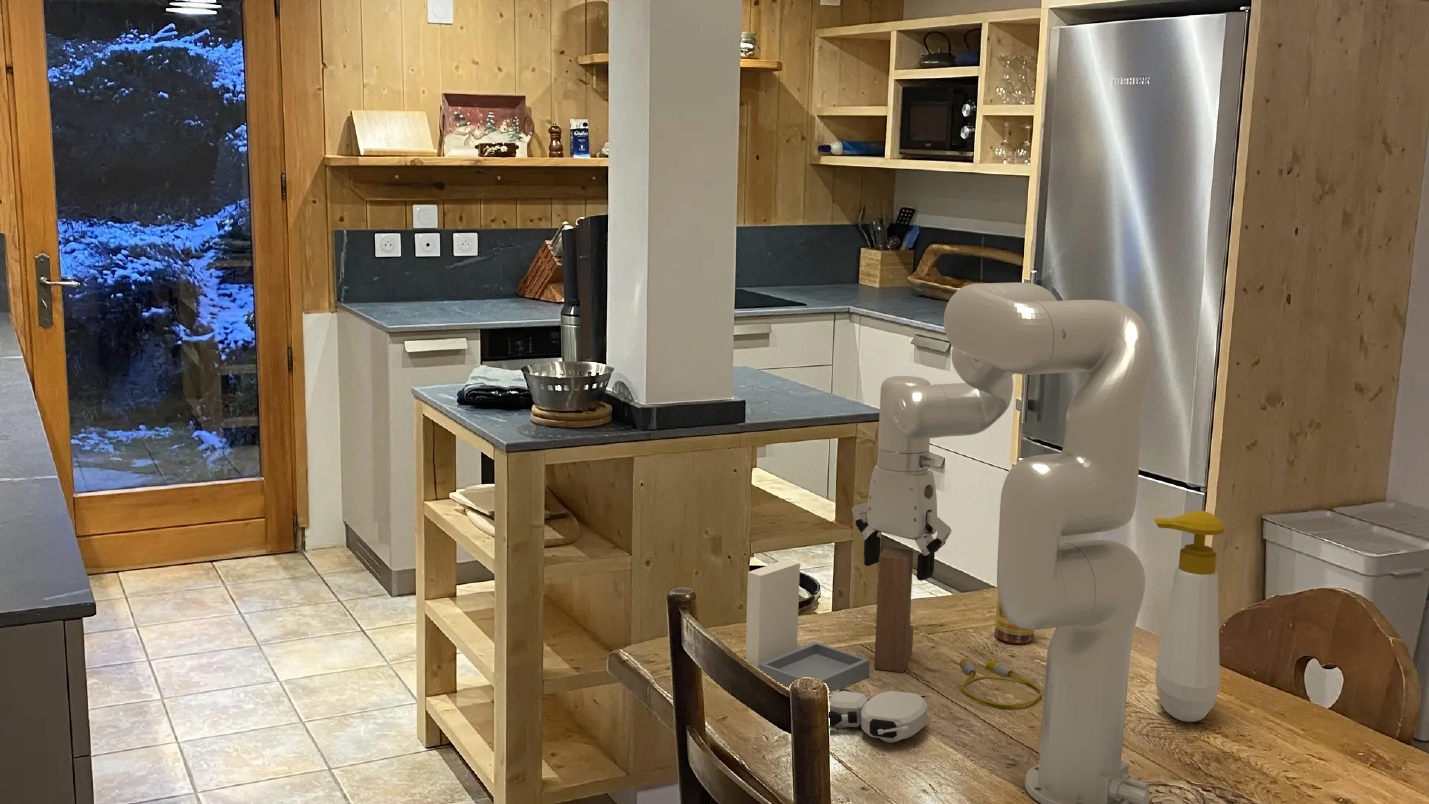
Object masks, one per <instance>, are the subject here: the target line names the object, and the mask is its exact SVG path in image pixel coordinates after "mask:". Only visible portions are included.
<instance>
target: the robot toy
mask: <svg viewBox="0 0 1429 804" xmlns="http://www.w3.org/2000/svg"><path fill="white" fill-rule="evenodd" d="M828 695H829V702H830V712H829V718H830V726H829V727H835V728H840V729H846V728H858V727H859V726H860V727H861V729H862V731H863V733H865V734H866V735H868V736H869V737H870V738H871V737H872V738H877V739H880V740H881V741H883V742H885V743H889V744H893V743H896V742H899V741H900V740H904V739H908V738H911V737H912V736H914V735H916V734H917V733H918V732H919V731H920V730H921V729H923V728H924V727H925V726H926V724H927V721H928V703H927V701H926V699H925V698H932V697H933V696H934V694H932V693H928V694H924V695H923V694H922V695H919V694H918V693H916V692H915V693H914V692H904V691H896V690H889V691H885V692H880V693H877V694H876V695H875V696H873V697H872V698H867V696H865V694H863V693H859V692H855V691H854V690H850V689H847V688H841V689H839V690H835V691H833V692H831V693H830V694H828Z"/></svg>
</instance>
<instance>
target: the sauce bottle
mask: <svg viewBox="0 0 1429 804" xmlns="http://www.w3.org/2000/svg"><path fill="white" fill-rule="evenodd" d="M994 626H995V629H994V636H995V637H996V638H997V639H998V640H1000V641H1002V642H1005V643H1009V644H1012V645H1013V644H1021V645H1022V644H1023V645H1025V644H1028V643H1030V642H1031V641H1032V640H1033V639H1034V635H1035V634H1034V633H1035V630H1027V629H1022V628H1019V627H1017V626H1015V625H1014V624H1012V623H1011V622H1010V621H1009V620H1008V619H1007V617H1006V616H1005V614H1004V612H1003V610H1002V608H1001V605H1000V602H999V597H998V596H997V602H996V612H995V621H994Z"/></svg>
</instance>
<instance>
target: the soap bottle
mask: <svg viewBox="0 0 1429 804" xmlns="http://www.w3.org/2000/svg"><path fill="white" fill-rule="evenodd" d="M1153 520H1154V522H1155V524H1156V525H1157V527H1158V529H1159V528H1160V529H1172V530H1176V531H1182V532H1184V533H1189V534H1193V535H1194V537H1193V543H1188V544H1185V545H1184V547H1183V548H1180V551H1179V562H1178V566H1176V568H1175V572H1174V577H1173V581H1172V587H1171V589H1170V590H1171V591H1170V595H1169V600H1168V605H1167V608H1166V609H1167V610H1166V614H1165V615H1166V616H1165V620H1164V625H1163V630H1162V635H1161V638H1160V644H1159V648H1158V654H1157V659H1156V666H1155V686H1156V690H1157V696H1158V698H1159V701H1160V703H1161V705H1162V707H1163V709H1164V711H1165V712H1167V713H1168V715H1170V716H1171V717H1173V718H1175V719H1176V720H1177V721H1178V720H1179V721H1181V722H1186V723H1194V722H1199V721H1201V720H1203V719H1204V718H1205V717H1206V716H1207V715H1208V714H1209V712H1211V710H1212V709H1213V707H1214V705H1215V703H1216V701H1217V697H1218V695H1219V691H1220V690H1219V689H1220V681H1221V678H1220V677H1221V675H1220V674H1221V673H1220V671H1221V670H1220V633H1219V632H1220V629H1219V627H1220V625H1219V623H1220V622H1219V573H1218V571H1217V570H1216V565H1217V553H1216V552H1215V551H1214V548H1212V546H1209V545H1206V536H1218V535H1222V534H1224V532H1225V527H1226V526H1225V524H1224V523H1223V521H1222V520H1221V519H1220V518H1219V517H1217V516H1216V515H1215V514H1213V513H1210V512H1209V511H1206V510H1195V511H1190V512H1187V513H1184V514H1181V515H1179V516H1178V515H1177V516H1175V517H1171V518H1165V517H1162V518H1161V517H1160V518H1159V517H1153Z"/></svg>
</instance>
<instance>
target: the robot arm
mask: <svg viewBox="0 0 1429 804" xmlns="http://www.w3.org/2000/svg"><path fill="white" fill-rule="evenodd" d="M1147 327H1148V326H1147V325H1146V323H1145V322H1144V319H1143V318H1142V317H1141V316H1140V315H1139V314H1138V313H1137V312H1136V311H1135V310H1134V309H1133V308H1131V307H1129V306H1127V305H1124V304H1123V303H1118V302H1116V301H1109V300H1102V299H1073V300H1072V299H1069V300H1057V297H1056V296H1055V295H1054V294H1053V293H1052V292H1051V291H1050V290H1048V289H1047V288H1045V287H1043V286H1042V285H1038V284H1036V283H1029V282H991V283H990V282H989V283H988V282H985V283H984V282H983V283H982V282H981V283H972V284H967V285H965V286H964V285H963V287H961V288H960V289H958V290H957V291H956V292H955V293H953V295H952V296H951V297H950V299H949V301H947V304H946V307H945V309H944V315H943V328H944V333H945V335H946V339H947V340H948V341H949V343H950V344H951V345H952V350H951V362H952V366H953V368H954V370H955V373H956V374H957V375H958V376H959V377H960V379H962V381H963V383H959V382H958V383H957V382H956V383H955V382H953V383H939V384H938V383H937V384H936V383H935V384H931V383H930V381H929V380H927V379H925V378H922V377H918V376H911V375H896V376H891V377H887V378H885V379H884V380H883V381H882V383H881V386H880V392H879V393H880V394H879V395H880V396H879V397H880V398H879V419H878V420H879V421H878V437H877V439H878V442H877V444H878V445H877V446H878V447H877V464H875V466H874V468H873V470H872V473H871V478H870V483H869V488H868V489H869V490H868V495H867V496H868V497H867V501H865V502H862V503H860V504H856V505H854V506H852V507H851V512H852V515H853V518H854V520H855V526H856V527H857V529H858V531H859V532H860V537H861V539H862V540H863V541H864V542H863V545H864V546H863V558H864V559H863V560H864V561H863V565H864V566H865V567H870V566H872V565H874V564H877V563H878V564H879V556H880V554H881V543H882V542H881V540H882V539H881V537H880V536H878V535H879V534H880V533H883V534H888V535H891V536H894V537H895V536H896V537H900V538H903V539H908V540H911V541H914V542H915V544H916V545H917V547H918V549H919V551H920V552H921V553H919V554H918V555H917V561H916V562H917V563H916V564H917V566H916V579H917V580H918V581H920V582H923V581H925V580H927V579H929V578H932V577H933V573H934V571H935V553H936V552H938V551H939V550H940V549H941V548H942V547H943V546H944V545H946V541H947V540H948V539H949V537H950V535H951V534H952V528H951V527H950V526H949V525H948V524H946V523H945V521H943V520H942V519H941V518H940V517H939V516H938V501H937V499H938V498H937V489H936V488H937V487H936V479H935V476H934V471H932V470H929V468H934V466H935V464H936V461H935V458H932V457H931V456H930V453H931V451H930V444H931V442H930V440H931V439H934V438H935V439H936V438H947V437H960V436H965V437H966V436H972V435H977V434H980V433H982V432H984V431H985V430H987V429H988V428H990V427H991V426H993V424H994V423H996V422H997V421H998V420H999V419H1000V418H1001V417H1002V416H1003V415H1004V414H1005V413H1006V412H1007V410H1008V408H1009V407H1010V405H1011V401H1012V399H1013V391H1014V378H1013V375H1015V374H1016V375H1021V376H1023V375H1024V376H1025V375H1031V376H1032V375H1043V374H1044V375H1047V374H1065V373H1076V372H1077V373H1078V372H1085V373H1086V375H1087V377H1086V379H1085V380H1084V381H1083V382H1082V384H1080V386H1079V387H1078V389H1077V391H1075V394H1074V395H1073V397H1072V399H1071V401H1070V402H1069V406H1068V408H1067V411H1066V415H1065V421H1064V422H1065V427H1064V428H1065V429H1064V439H1063V440H1064V441H1063V446H1062V450H1061V451H1060V452H1059V453H1049V454H1039V455H1033V456H1028V457H1025V458H1023V459H1021V460H1019V461H1017V462H1016V463H1015V464H1014V465H1013V466H1012V467H1011V469H1010V470H1009V472H1008V473H1007V475H1006V477H1005V479H1004V481H1003V484H1002V485H1003V486H1002V488H1001V495H1000V503H999V522H998V523H999V524H998V525H999V526H998V543H997V544H998V546H997V565H996V566H997V567H996V588H997V589H996V590H997V598H998V597H999V602H1000V605H1001V608H1002V610H1003V612H1004V614H1005V616H1006V617H1007V619H1008V620H1009V621H1010V622H1011V623H1012V624H1014V625H1015V626H1017V627H1019V628H1022V629H1027V630H1034V631H1036V630H1049V629H1053V628H1054V631H1053V633H1052V635H1051V638H1050V641H1049V644H1048V648H1047V654H1046V663H1045V675H1044V676H1045V677H1044V689H1043V705H1042V718H1041V731H1040V734H1041V735H1040V745H1039V746H1040V747H1039V759H1038V760H1039V762H1038V764H1036V765H1034V766H1032V767H1031V768H1029V769H1028V771H1027V772H1026V773H1025V777H1024V788H1025V790H1026V792H1027V793H1028V795H1029V796H1030V797H1031V798H1033V799H1034V800H1035V801H1036V802H1039V803H1040V804H1129V802H1130V804H1149V803H1150V801H1151V792H1150V791H1149V789H1150V784H1149V783H1148V782H1144V781H1141V780H1139V779H1135V778H1132V776H1131V775H1129V772H1130V763H1128V762H1126V761H1123V760H1122V755H1123V744H1124V743H1123V742H1124V731H1125V721H1126V720H1125V719H1126V709H1127V708H1126V706H1127V695H1128V693H1127V692H1128V682H1129V672H1130V662H1131V653H1132V646H1133V645H1132V644H1133V637H1134V633H1135V629H1136V624H1137V621H1138V617H1139V613H1140V611H1141V608H1142V603H1143V601H1144V600H1143V599H1144V597H1145V592H1146V591H1145V590H1146V575H1145V569H1144V567H1143V564H1142V562H1141V560H1140V558H1139V556H1138V555H1137V553H1135V551H1133V549H1131V548H1130V547H1128V546H1126V545H1125V544H1123V543H1120V542H1117V541H1114V540H1110V539H1109V540H1106V539H1091V540H1090V539H1089V540H1081V541H1070V542H1063V543H1060V542H1061V541H1060V540H1061V537H1066V536H1067V537H1068V536H1074V535H1075V536H1077V535H1086V534H1095V533H1102V532H1109V531H1114V530H1117V529H1119V528H1122V527H1124V526H1126V525H1128V523H1129V522H1130V521H1131V519H1132V518H1133V516H1134V514H1135V511H1136V505H1137V500H1138V499H1137V498H1138V485H1139V471H1140V470H1139V469H1140V460H1141V456H1140V455H1141V443H1142V423H1143V415H1144V409H1145V404H1146V399H1147V395H1148V391H1149V387H1150V382H1151V378H1152V373H1153V364H1154V350H1153V349H1154V348H1153V342H1152V337H1151V335H1150V331H1149V329H1148V328H1147ZM865 512H866V513H865ZM936 533H937V534H936ZM934 534H936V537H935V538H934V536H933V535H934Z"/></svg>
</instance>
